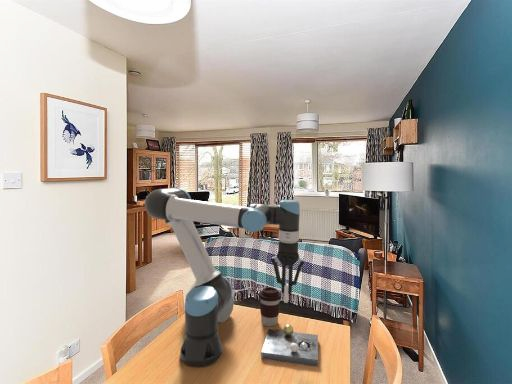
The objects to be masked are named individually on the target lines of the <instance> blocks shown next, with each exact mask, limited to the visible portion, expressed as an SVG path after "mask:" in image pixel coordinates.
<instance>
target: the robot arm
mask: <svg viewBox="0 0 512 384" xmlns="http://www.w3.org/2000/svg"><path fill="white" fill-rule="evenodd" d="M144 208H145V211H146V213H147V215H149V216H150V218H153V219H155V220H161V221H164V222H165V224H166V226H169V227H171V228H172V230H173V233H174V235H175V237H176V239H177V242H178V243H179V245H180V247H181V249H182V253H183V254H184V256H185V259H186V261H187V263H188V265H189V267H190V269H191V272H192V273H193V276H194V278H195V281H196V282H195V281H194V282H195V288H194V289H192V290H190V289H189V290H188V292H187V293H186V296H185V302H184V331H185V332H184V333H185V334H184V337H183V341H182V344H181V347H180V349H179V350H180V352H179V353H180V354H179V355H180V360H181V361H182V363H183V364H184V365H186V366H189V367H195V368H200V367H207V366H211V365H212V364H215V363H216V362H218V361H219V359H221V357H222V355H223V345H222V341H221V338H220V336H219V332H218V322H217V319H218V315H219V314H220V312H221V311H222V310H223V308H224V307H225V306H226V305H227V304H228V303H229V301H230V298H231V296H232V289H233V286H232V283H231V282H230V280H229V279H227V278H226V277H224V276H223V275H222V273H221V271H219V270H217V269H216V268H215V266H214V264H213V261H212V260H211V257H210V255H209V253H208V252H207V248H206V246H205V245H204V243H203V241H202V238H201V236H200V234H199V232H198V230H197V228H196V226H195V224H194V223H195V222H196V223H205V224H210V225H217V226H226V227H231V228H238V229H243V230H246V231H247V232H249V233H257V232H260V231H261V230H263V229H264V227H265V226H267V225H272V226H273V225H274V226H278V240H279V241H278V245H277V247H278V251H277V253H276V255H275V256H272V257H271V258H270V261H271V263H272V265H273V270H274V274H275V278H276V282H277V284H280V285H281V291H280V293H281V294H283V303H285V304H288V303H289V300H290V299H289V297H290V296H289V295H290V294H292V292H293V285H294V286H296V285H297V283H298V279H299V276H300V273H301V270H302V267H303V266H304V264H305V259H302V258H301V257H300V255H299V240H300V239H299V237H300V236H299V234H300V215H301V214H300V211H301V210H300V203H299V201H297V200H295V199H291V200H290V199H283V200H280V201H279V204H266V203H265V204H264V203H263V204H262V203H252V204H251V203H250V204H249V206H242V205H240V206H239V205H236V204H235V205H233V204H227V203H226V204H225V203H220V202H219V203H218V202H210V201H202V200H196V199H195V200H194V199H192V197H191V195H190V194H189V193H188V191H186V190H185V189H184V188H181V187H176V186H175V187H168V188H166V187H165V188H159V189H158V188H157V189H154V190H152V191H151V192H149V193H148V194H147V196H146V197H145V199H144ZM279 262H280V264H281V274H280V270H279V269H280V268H279V264H278V263H279ZM296 263H297V268H296V272H295V275H294V277H293V273H294V271H293V269H294V268H293V267H294V265H295V264H296ZM287 266H288V283H286V280H287V279H286V276H287V275H286V274H287ZM293 278H294V279H293Z"/></svg>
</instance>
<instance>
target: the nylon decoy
mask: <svg viewBox="0 0 512 384" xmlns="http://www.w3.org/2000/svg"><path fill="white" fill-rule="evenodd" d="M290 350H291V351H292V352H297V350H298V345H297V344H296V343H292V344H291V345H290Z"/></svg>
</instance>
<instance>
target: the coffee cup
mask: <svg viewBox="0 0 512 384" xmlns="http://www.w3.org/2000/svg"><path fill="white" fill-rule="evenodd" d="M258 298H259V299H260V300H259V308H260V311H259V312H260V317H261V318H260V321H261V324H262V325H264V326H266V327H274V326H277V324H278V323H279V315H280V305H281V298H282V292H281V291H279V290H278V288H276V287H273V286H268V287H263V288H262V290H259V291H258Z"/></svg>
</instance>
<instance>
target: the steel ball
mask: <svg viewBox="0 0 512 384" xmlns="http://www.w3.org/2000/svg"><path fill="white" fill-rule="evenodd" d="M300 347H301V348H305V349H306V348H308V345H307V344H306V343H304V342H303V343H301V344H300Z"/></svg>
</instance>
